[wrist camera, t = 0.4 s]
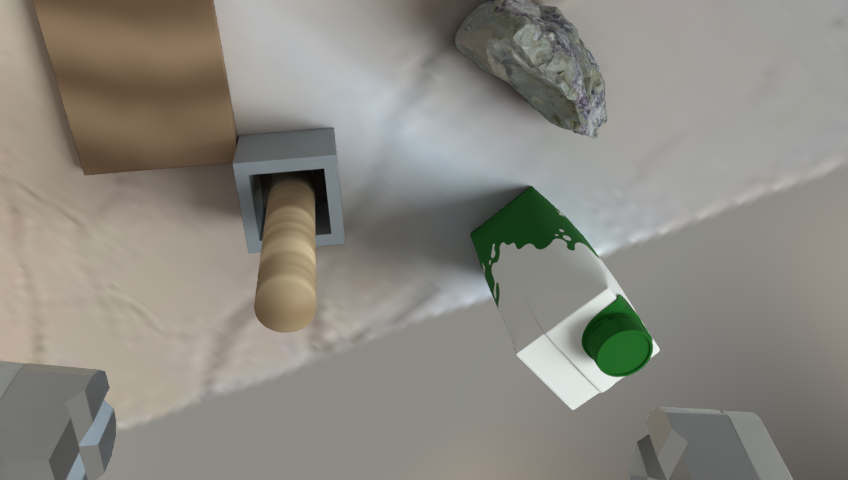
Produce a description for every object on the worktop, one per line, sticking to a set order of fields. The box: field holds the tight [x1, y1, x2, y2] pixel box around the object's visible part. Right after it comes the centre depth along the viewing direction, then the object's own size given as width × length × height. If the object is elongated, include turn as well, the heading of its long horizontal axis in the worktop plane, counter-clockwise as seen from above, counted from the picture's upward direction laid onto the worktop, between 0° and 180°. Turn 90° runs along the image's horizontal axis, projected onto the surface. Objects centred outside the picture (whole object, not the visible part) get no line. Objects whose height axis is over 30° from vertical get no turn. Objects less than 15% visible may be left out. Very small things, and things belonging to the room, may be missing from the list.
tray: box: [33, 0, 238, 175], centre depth 52 cm, size 14×12×1 cm
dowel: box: [254, 169, 316, 332], centre depth 50 cm, size 4×4×20 cm
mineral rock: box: [455, 0, 607, 139], centre depth 52 cm, size 13×11×10 cm
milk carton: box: [470, 186, 659, 410], centre depth 56 cm, size 9×9×20 cm
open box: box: [232, 128, 345, 253], centre depth 56 cm, size 8×8×6 cm
